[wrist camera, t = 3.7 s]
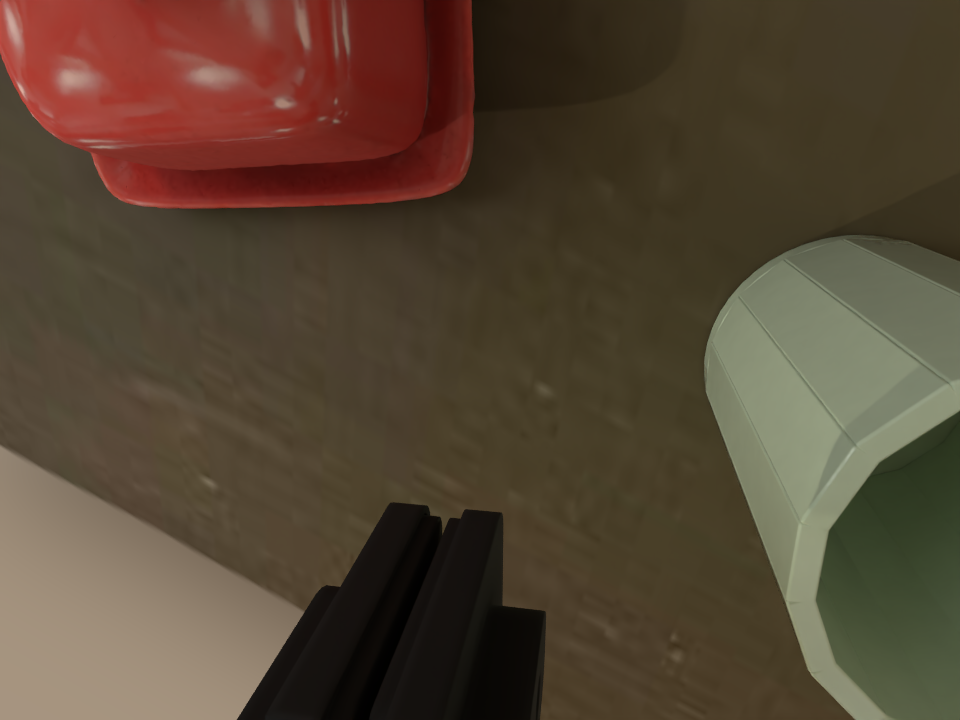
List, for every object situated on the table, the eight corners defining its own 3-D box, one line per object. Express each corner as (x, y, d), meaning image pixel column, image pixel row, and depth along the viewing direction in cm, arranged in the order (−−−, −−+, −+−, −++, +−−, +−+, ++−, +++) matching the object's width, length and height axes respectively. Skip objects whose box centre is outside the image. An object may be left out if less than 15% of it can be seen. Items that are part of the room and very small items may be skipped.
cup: (691, 468, 21) (761, 744, 12) (718, 231, 19) (831, 338, 9) (951, 488, 20) (1260, 813, 10) (1014, 237, 17) (1490, 367, 8)
